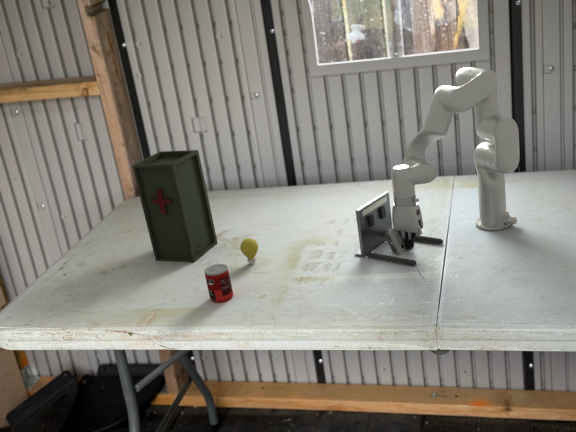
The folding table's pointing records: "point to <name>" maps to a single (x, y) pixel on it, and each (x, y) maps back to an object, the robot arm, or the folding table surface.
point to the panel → (373, 223)
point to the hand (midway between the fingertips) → (409, 248)
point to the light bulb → (249, 250)
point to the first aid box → (176, 205)
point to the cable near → (391, 259)
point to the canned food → (218, 283)
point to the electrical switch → (395, 241)
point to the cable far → (428, 239)
